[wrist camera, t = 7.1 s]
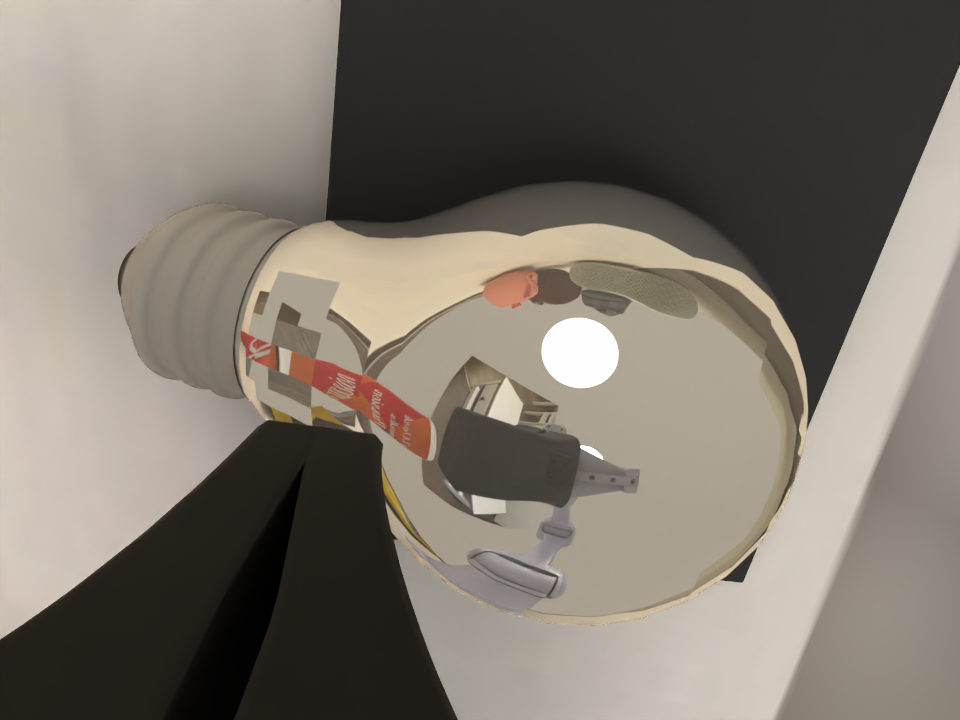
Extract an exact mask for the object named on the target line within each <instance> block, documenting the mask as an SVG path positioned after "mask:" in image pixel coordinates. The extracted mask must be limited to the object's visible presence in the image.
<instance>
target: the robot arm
mask: <svg viewBox="0 0 960 720" xmlns="http://www.w3.org/2000/svg"><path fill="white" fill-rule="evenodd" d="M382 451H383V443H382V442H381V441H380V439H379V438H378V437H377V436H376V435H375V434H371V433H363V432H356V431H348V430H341V429H333V428H326V427H318V426H311V425H304V424H296V423H289V422H281V421H274V420H267V421H266V422H264V423H263V424H261V425H260V426H258V427H257V428H256V429H255V430H254V431H253V432H252V433H251V434H250V435H249V436H248V437H247V438H246V439H245V440H244V441H243V442H242V443H241V444H240V445H239V446H238V447H237V448H236V449H235V450H234V451H233V452H232V453H231V454H230V455H229V456H228V457H227V458H226V459H225V460H224V461H223V462H222V463H221V464H220V465H219V466H218V467H217V468H216V469H215V470H214V471H213V472H212V473H211V474H209V475H208V476H207V477H206V478H205V479H204V480H203V481H202V482H201V483H200V484H199V485H198V486H197V487H196V488H195V489H193V490H192V491H191V492H190V493H189V494H188V495H187V496H185V497H184V498H183V499H182V500H181V501H180V502H179V503H177V504H176V505H175V506H174V507H173V508H172V509H171V510H170V511H168V512H167V513H166V514H165V515H164V516H163V517H162V518H160V519H159V520H158V521H157V522H156V523H155V524H154V525H153V526H151V527H150V528H149V529H148V530H147V531H145V532H144V533H143V534H142V535H141V536H139V537H138V538H137V539H136V540H134V541H133V542H132V543H131V544H129V545H128V546H127V547H126V548H124V549H123V550H122V551H121V552H119V553H118V554H117V555H115V556H114V557H113V558H112V559H110V560H109V561H108V562H107V563H105V564H104V565H103V566H102V567H100V568H99V569H98V570H96V571H95V572H94V573H93V574H91V575H90V576H89V577H88V578H86V579H85V580H84V581H83V582H81V583H80V584H79V585H77V586H76V587H75V588H73V589H72V590H71V591H69V592H68V593H66V594H65V595H64V596H62V597H61V598H60V599H58V600H57V601H55V602H54V603H53V604H51V605H50V606H49V607H47V608H46V609H44V610H43V611H41V612H40V613H39V614H37V615H36V616H34V617H33V618H31V619H30V620H29V621H27V622H26V623H24V624H23V625H21V626H20V627H18V628H17V629H15V630H14V631H12V632H11V633H9V634H8V635H6V636H5V637H3V638H2V639H0V720H458V719H457V717H456V715H455V713H454V711H453V708H452V706H451V704H450V701H449V699H448V697H447V694H446V692H445V690H444V688H443V685H442V683H441V681H440V678H439V676H438V674H437V671H436V669H435V666H434V664H433V661H432V659H431V656H430V654H429V651H428V649H427V646H426V643H425V641H424V638H423V635H422V633H421V630H420V627H419V624H418V621H417V618H416V615H415V612H414V609H413V606H412V603H411V600H410V598H409V595H408V591H407V588H406V585H405V581H404V578H403V575H402V571H401V568H400V564H399V560H398V556H397V552H396V548H395V544H394V540H393V536H392V532H391V528H390V523H389V519H388V514H387V508H386V502H385V495H384V489H383V480H382Z"/></svg>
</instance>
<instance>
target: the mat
mask: <svg viewBox="0 0 960 720" xmlns="http://www.w3.org/2000/svg"><path fill="white" fill-rule="evenodd" d="M959 65H960V0H341V12H340V27H339V41H338V56H337V70H336V85H335V99H334V113H333V128H332V142H331V157H330V171H329V186H328V200H327V215H326V221H330V220H358V221H367V222H390V223H398V222H404V221H409V220H415V219H419V218H422V217H425V216H428V215H431V214H434V213H437V212H440V211H444V210H447V209H449V208H452V207H455V206H458V205H461V204H463V203H466V202H469V201H472V200H474V199H477V198H480V197H483V196H486V195H490V194H493V193H497V192H501V191H505V190H508V189H512V188H516V187H520V186H523V185H528V184H535V183H547V182H560V181H572V180H585V181H593V182H602V183H610V184H618V185H626V186H629V187H632V188H635V189H638V190H641V191H644V192H647V193H650V194H653V195H656V196H659V197H662V198H665V199H668V200H670V201H672V202H674V203H676V204H677V205H679V206H681V207H683V208H684V209H686V210H688V211H690V212H692V213H693V214H695V215H697V216H699V217H700V218H702V219H704V220H706V221H707V222H709V223H710V224H712V225H713V226H714V227H715V228H716V229H717V230H719V231H720V232H721V233H722V234H723V235H724V236H725V237H727V238H728V239H729V240H730V241H731V242H732V243H734V244H735V245H736V246H737V247H738V248H739V249H740V250H742V251H743V252H744V253H745V254H746V255H747V257H748V258H749V259H750V261H751V262H752V263H753V264H754V266H755V267H756V268H757V270H758V271H759V272H760V274H761V275H762V276H763V277H764V279H765V280H766V281H767V283H768V284H769V285H770V287H771V288H772V289H773V291H774V292H775V294H776V297H777V299H778V301H779V303H780V305H781V307H782V309H783V311H784V313H785V315H786V317H787V319H788V321H789V323H790V325H791V328H792V330H793V332H794V335H795V339H796V342H797V346H798V350H799V354H800V357H801V361H802V365H803V369H804V372H805V376H806V385H807V400H808V419H807V428H808V426H809V423H810V421H811V419H812V416H813V414H814V411H815V409H816V407H817V404H818V402H819V399H820V397H821V395H822V392H823V390H824V387H825V385H826V383H827V380H828V378H829V376H830V373H831V371H832V368H833V366H834V364H835V361H836V359H837V356H838V354H839V352H840V349H841V347H842V345H843V342H844V340H845V337H846V335H847V333H848V330H849V328H850V325H851V323H852V321H853V318H854V316H855V313H856V311H857V309H858V306H859V304H860V302H861V299H862V297H863V294H864V292H865V290H866V287H867V285H868V282H869V280H870V278H871V275H872V273H873V271H874V268H875V266H876V263H877V261H878V259H879V256H880V254H881V251H882V249H883V247H884V244H885V242H886V240H887V237H888V235H889V232H890V230H891V228H892V225H893V223H894V220H895V218H896V216H897V213H898V211H899V208H900V206H901V204H902V201H903V199H904V197H905V194H906V192H907V189H908V187H909V185H910V182H911V180H912V177H913V175H914V173H915V170H916V168H917V166H918V163H919V161H920V158H921V156H922V154H923V151H924V149H925V146H926V144H927V142H928V139H929V137H930V134H931V132H932V130H933V127H934V125H935V123H936V120H937V118H938V115H939V113H940V111H941V108H942V106H943V103H944V101H945V99H946V96H947V94H948V92H949V89H950V87H951V84H952V82H953V80H954V77H955V75H956V72H957V70H958V68H959ZM807 428H806V430H807ZM392 536H393V539H397V538H396V537H395V535H394V534H393V533H392ZM397 540H398V539H397ZM756 550H757V548H756V549H755V550H754V551H753V552H752V553H751V554H750V555H749V556H747V557H746V558H745V559H744V560H743V561H742V562H741V563H740V564H739V565H738V566H737V567H736V568H735V569H734V570H733V571H731V572H730V573H729V574H728V575H727V576H726V577H725V578H723V579H721V580H725V581H733V582H743V581H744V578H745V576H746V574H747V571H748V569H749V566H750V564H751V562H752V559H753V557H754V555H755V552H756Z"/></svg>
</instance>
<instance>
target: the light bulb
mask: <svg viewBox="0 0 960 720" xmlns="http://www.w3.org/2000/svg"><path fill="white" fill-rule="evenodd" d="M118 290H119V294H120V296H121V301H122V307H123V312H124V315H125V318H126V321H127V324H128V326H129V329H130V331H131V334H132V338H133V342H134V345H135V348H136V350H137V352H138V355H139V356H140V358H141V360H142V361H143V362H144V364H145V365H146V366H147V367H148V368H149V369H150V370H152V371H153V372H154V373H156V374H158V375H160V376H162V377H164V378H168V379H172V380H181V381H183V382H184V383H186V384H188V385H190V386H192V387H195V388H199V389H210V390H212V391H213V392H214V393H216V394H218V395H220V396H223V397H226V398H232V399H239V398H245V397H246V398H247V399H248V400H250V402H251V403H252V405H253V406H254V407H255V408H256V410H257V411H258V412H259V413H260V415H261V416H263V417H264V418H265V419H266V420H274V421H281V422H289V423H296V424H304V425H311V426H318V427H326V428H333V429H341V430H348V431H356V432H363V433H371V434H375V435H376V436H377V437H378V438H379V439H380V441H381V442H382V443H383V451H382V480H383V489H384V495H385V502H386V508H387V514H388V519H389V523H390V528H391V532H392V533H393V534H394V535H395V537H396V538H397V539H398V540H399V541H400V542H401V543H402V544H403V545H404V546H405V548H406V549H407V550H408V551H409V552H410V553H411V554H412V555H413V556H414V557H415V559H416V560H417V561H418V562H419V563H420V564H422V565H423V566H424V567H426V568H427V569H428V570H430V571H431V572H432V573H433V574H435V575H436V576H437V577H439V578H440V579H441V580H443V581H444V582H445V583H447V584H448V585H449V586H451V587H452V588H453V589H455V590H456V591H458V592H460V593H462V594H464V595H466V596H469V597H471V598H473V599H475V600H477V601H479V602H481V603H483V604H485V605H487V606H489V607H491V608H493V609H496V610H498V611H501V612H504V613H508V614H512V615H516V616H520V617H524V618H528V619H532V620H536V621H540V622H543V623H547V624H565V625H584V626H597V625H604V624H611V623H617V622H624V621H630V620H637V619H641V618H644V617H647V616H650V615H652V614H655V613H658V612H660V611H663V610H666V609H668V608H671V607H674V606H677V605H679V604H682V603H684V602H686V601H688V600H689V599H691V598H693V597H694V596H696V595H697V594H699V593H701V592H702V591H704V590H705V589H707V588H709V587H710V586H712V585H713V584H715V583H717V582H718V581H720V580H721V579H723V578H725V577H726V576H727V575H728V574H729V573H730V572H731V571H733V570H734V569H735V568H736V567H737V566H738V565H739V564H740V563H741V562H742V561H743V560H744V559H745V558H746V557H747V556H749V555H750V554H751V553H752V552H753V551H754V550H755V549H756V548H757V547H758V545H759V544H760V543H761V541H762V540H763V538H764V537H765V536H766V534H767V533H768V531H769V530H770V529H771V527H772V526H773V524H774V523H775V521H776V520H777V518H778V516H779V515H780V513H781V511H782V509H783V507H784V505H785V503H786V501H787V499H788V496H789V493H790V490H791V487H792V484H793V482H794V479H795V476H796V473H797V470H798V466H799V463H800V459H801V454H802V449H803V445H804V441H805V436H806V428H807V419H808V400H807V385H806V376H805V372H804V369H803V365H802V361H801V357H800V354H799V350H798V346H797V342H796V339H795V335H794V332H793V330H792V328H791V325H790V323H789V321H788V319H787V317H786V315H785V313H784V311H783V309H782V307H781V305H780V303H779V301H778V299H777V297H776V294H775V292H774V291H773V289H772V288H771V287H770V285H769V284H768V283H767V281H766V280H765V279H764V277H763V276H762V275H761V274H760V272H759V271H758V270H757V268H756V267H755V266H754V264H753V263H752V262H751V261H750V259H749V258H748V257H747V255H746V254H745V253H744V252H743V251H742V250H740V249H739V248H738V247H737V246H736V245H735V244H734V243H732V242H731V241H730V240H729V239H728V238H727V237H725V236H724V235H723V234H722V233H721V232H720V231H719V230H717V229H716V228H715V227H714V226H713V225H712V224H710V223H709V222H707V221H706V220H704V219H702V218H700V217H699V216H697V215H695V214H693V213H692V212H690V211H688V210H686V209H684V208H683V207H681V206H679V205H677V204H676V203H674V202H672V201H670V200H668V199H665V198H662V197H659V196H656V195H653V194H650V193H647V192H644V191H641V190H638V189H635V188H632V187H629V186H626V185H618V184H610V183H602V182H593V181H585V180H572V181H560V182H547V183H535V184H528V185H523V186H520V187H516V188H512V189H508V190H505V191H501V192H497V193H493V194H490V195H486V196H483V197H480V198H477V199H474V200H472V201H469V202H466V203H463V204H461V205H458V206H455V207H452V208H449V209H447V210H444V211H440V212H437V213H434V214H431V215H428V216H425V217H422V218H419V219H415V220H409V221H404V222H398V223H390V222H367V221H358V220H330V221H324V222H318V223H313V224H310V225H307V226H304V227H300V226H299V225H297V224H295V223H293V222H291V221H288V220H285V219H278V218H272V219H270V218H269V217H267V216H265V215H263V214H260V213H257V212H253V211H241V210H239V209H237V208H235V207H233V206H230V205H227V204H220V203H211V204H204V205H200V206H196V207H194V208H189V209H186V210H183V211H181V212H178V213H176V214H175V215H173V216H172V217H170V218H169V219H167V220H166V221H164V222H163V223H161V224H160V225H159V226H157V227H156V228H155V229H153V230H152V231H151V232H149V233H148V234H147V235H146V236H145V237H144V238H143V239H142V240H141V241H140V242H139V244H138V245H137V246H135V247H134V248H133V249H132V250H130V252H129V253H128V254H127V255H126V257H125V258H124V260H123V262H122V264H121V267H120V270H119V275H118Z"/></svg>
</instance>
